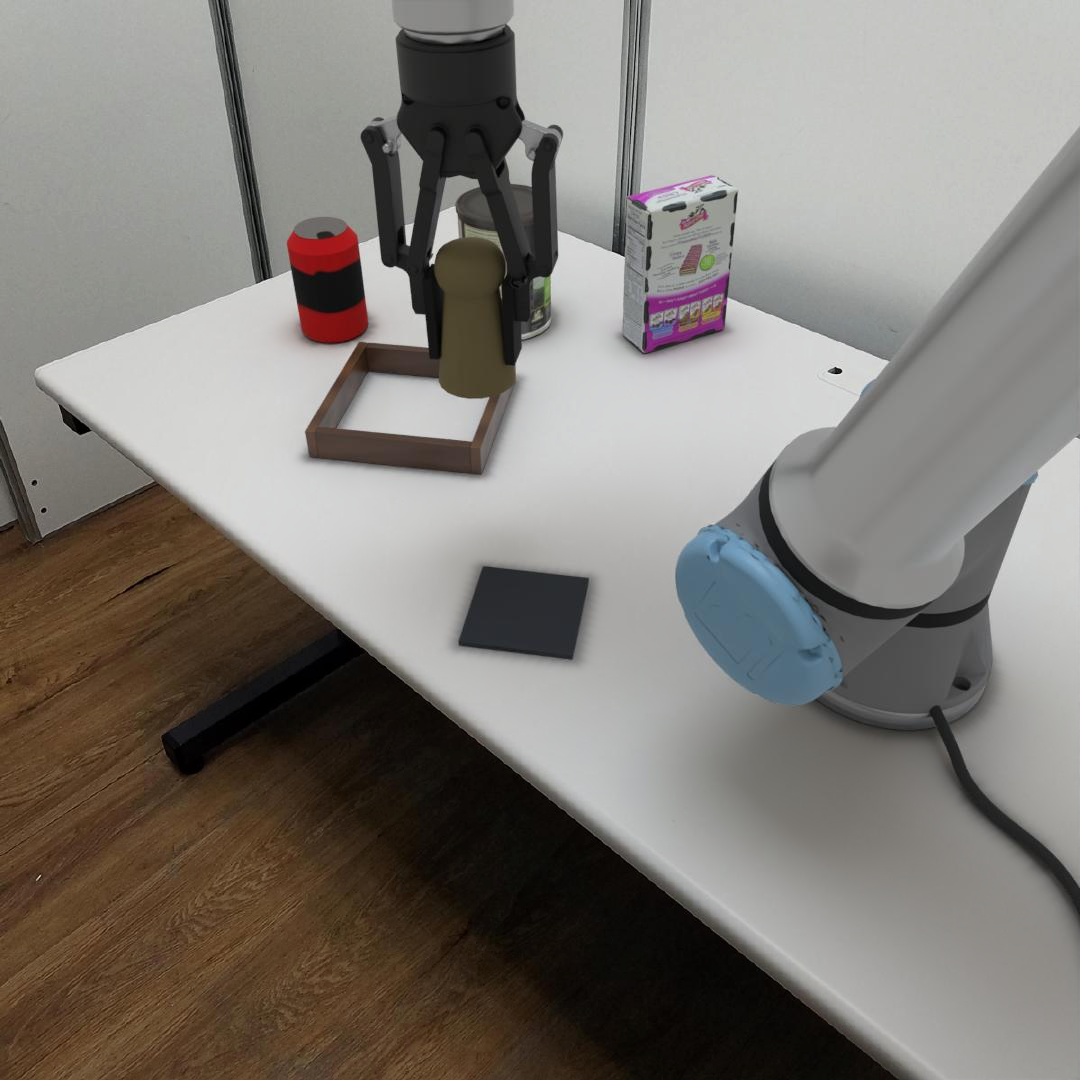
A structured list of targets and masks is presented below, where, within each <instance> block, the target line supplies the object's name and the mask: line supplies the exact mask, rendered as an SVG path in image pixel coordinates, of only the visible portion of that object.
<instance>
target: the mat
mask: <svg viewBox="0 0 1080 1080" xmlns="http://www.w3.org/2000/svg"><path fill="white" fill-rule="evenodd" d="M588 585H589V577H584V576H575V575H568V574H557V573H551V572H550V573H549V572H541V571H540V572H539V571H531V570H524V569H523V570H522V569H513V568H505V567H498V566H497V567H495V566H486V565H483V566H482V568H481V571H480V574H479V577H478V579H477V582H476V587H475V589H474V592H473V596H472V598H471V601H470V605H469V608H468V610H467V614H466V617H465V620H464V623H463V626H462V629H461V632H460V636H459V639H458V646H465V647H472V648H481V649H489V650H496V651H505V652H513V653H520V654H529V655H537V656H545V657H551V658H552V657H554V658H563V659H569V660H573V657H574V654H575V648H576V643H577V638H578V634H579V628H580V623H581V619H582V615H583V609H584V606H585V599H586V595H587V590H588V587H589V586H588Z"/></svg>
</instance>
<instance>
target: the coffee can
mask: <svg viewBox="0 0 1080 1080" xmlns="http://www.w3.org/2000/svg"><path fill="white" fill-rule="evenodd" d="M511 187H512V190H513V193H514V197H515V200H516V203H517V207H518V210H519V213H520V217H521V220H522V223H523V227H524V230H525V233H526V237H527V240H528V243H529V246H530V250H531V253H532V254H535V245H534V224H533V203H532V186H530V185H525V184H517V183H511ZM454 204H455V205H454V206H455V212H456V214H457V230H458V238H464V237H478V238H484V239H487V240H490V241H492V242H494V243H495V244H497V245H498V247H499V248H500V250H501V251H502V253H503V250H502V247H501V244H500V241H499V238H498V234H497V231H496V228H495V225H494V222H493V219H492V215H491V212H490V209H489V206H488V203H487V200H486V197H485V195H483V194H482V192H481V189H480V186H478V187H475V188H474V187H473V188H472V189H469V190H467V191H465V192H463V193H462V194H460V195H459V196H458V197H457V199H456V201H455V203H454ZM503 254H504V253H503ZM504 257H505V256H504ZM505 261H506V260H505ZM508 270H509V269H508V266H507V263H506V272H505V276H506V274H507V272H508ZM551 275H552V274H551ZM551 275H550V276H549V277H546V278H544V277H541V276H540V277H537V278H534V279H533V292H534V294H533V296H534V308H533V311H532V313H531V315H530V318H529V320H528V322H521V337H522V341H524V340H528V339H530V338H534V337H536V336H538V335H540V334H542V333H543V332H545V331H546V330H547V329H548V328H549V327H550V325H551V324H552V320H553V316H552V299H551V298H552V293H551V292H552V291H551V290H552V284H551V283H552V281H551V279H552V277H551ZM504 279H505V278H504ZM501 285H502V284H501ZM499 288H500V293H501V299H502V289H501V286H500V287H499Z"/></svg>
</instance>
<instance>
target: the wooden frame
mask: <svg viewBox="0 0 1080 1080" xmlns="http://www.w3.org/2000/svg"><path fill="white" fill-rule="evenodd" d="M516 364H517V363H516ZM516 364H515V366H514V367H515V372H516V373H517V365H516ZM439 368H440V359H439V360H437V359H429V348H428V346H417V345H416V346H415V345H402V344H390V343H389V344H388V343H379V342H367V341H358V342H357V344H356V346H355V347H354V349H353V351H352V352H351V354H350V356H349V358H348V359H347V361H346V363H345V364H344V365H343V367H342V369H341V371H340V373H339V374H338V376H337V377H336V379H335V380H334V382H333V384H332V386H331V387H330V389H329V391H328V392H327V394H326V395H325V397H324V399H323V401H322V402H321V404H319V407H318V409H317V410H316V412H315V414H314V415H313V417H312V418H311V420H310V421H309V424H308V425H307V427H306V429H305V430H304V434H305V439H306V446H307V451H308V456H309V457H310V458H319V459H327V460H337V461H347V462H355V463H356V462H358V463H367V464H376V465H386V466H394V467H395V466H396V467H406V468H415V469H427V470H435V471H444V472H454V473H455V472H456V473H465V474H474V475H475V474H476V475H482V474H483V471H484V468H485V465H486V462H487V460H488V458H489V455H490V452H491V449H492V447H493V444H494V441H495V438H496V436H497V433H498V430H499V427H500V424H501V421H502V420H503V417H504V414H505V411H506V408H507V405H508V403H509V399H510V397H511V394H512V392H513V388H514V386H515V383H516V381H515V382H514V384H513V385H512V387H511V388H509V389H508V390H506V391H505V392H504V393H501V394H498V395H496V396H493V397H488V400H487V402H486V405H485V407H484V410H483V413H482V416H481V418H480V421H479V423H478V426H477V428H476V430H475V434H474V436H473V437H472V440H461V439H450V438H441V437H440V438H439V437H430V436H429V437H428V436H420V435H409V434H398V433H391V432H390V433H388V432H379V431H378V432H377V431H368V430H360V429H359V430H358V429H348V428H339V427H338V425H339V423H340V422H341V419H342V418H343V416H344V414H345V412H346V410H347V409H348V408H349V405H350V404H351V402H352V401H353V398H354V397H355V394H356V393H357V391H358V390H359V388H360V386H361V384H362V383H363V381H364V379H365V377H366V375H367V374H368V372H374V373H384V374H385V373H386V374H394V375H395V374H397V375H407V376H408V375H409V376H419V377H430V378H439Z"/></svg>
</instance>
